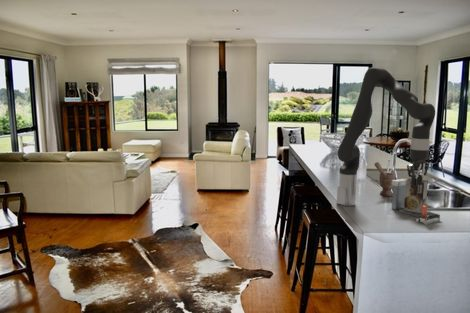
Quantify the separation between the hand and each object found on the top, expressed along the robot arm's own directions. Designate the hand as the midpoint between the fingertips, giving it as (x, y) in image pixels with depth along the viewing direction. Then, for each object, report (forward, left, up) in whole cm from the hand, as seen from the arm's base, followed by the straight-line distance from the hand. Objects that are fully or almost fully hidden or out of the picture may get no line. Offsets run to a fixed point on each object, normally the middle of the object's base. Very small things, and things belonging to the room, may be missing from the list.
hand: (416, 185), depth 174 cm
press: (+15, +10, -19) cm, 26 cm away
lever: (+8, 0, -19) cm, 21 cm away
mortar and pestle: (+34, +42, -19) cm, 57 cm away
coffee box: (+18, +11, -18) cm, 28 cm away
